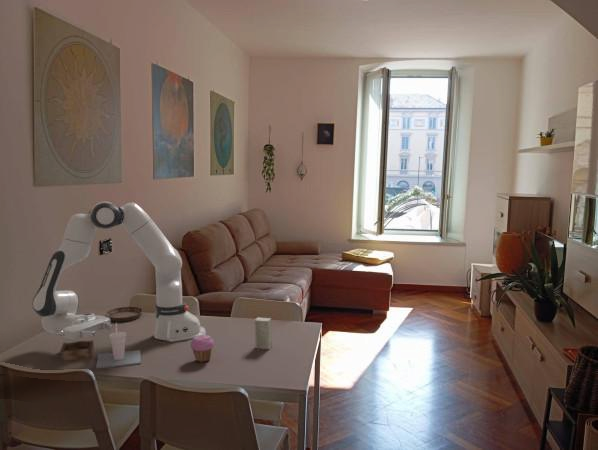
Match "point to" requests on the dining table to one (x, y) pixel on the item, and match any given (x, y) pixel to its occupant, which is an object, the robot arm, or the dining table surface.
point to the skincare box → (263, 333)
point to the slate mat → (108, 360)
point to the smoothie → (118, 344)
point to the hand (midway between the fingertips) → (102, 330)
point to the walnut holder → (77, 350)
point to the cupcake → (202, 347)
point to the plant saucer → (124, 313)
